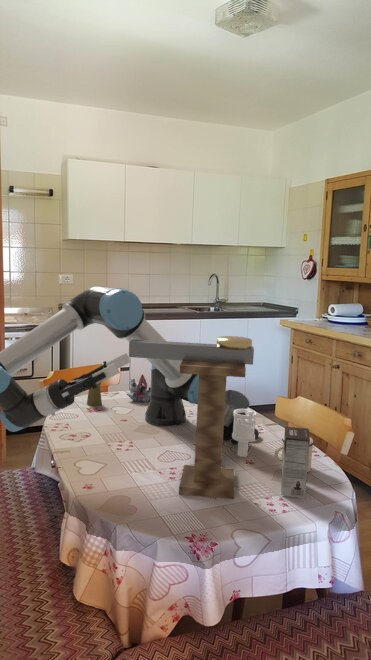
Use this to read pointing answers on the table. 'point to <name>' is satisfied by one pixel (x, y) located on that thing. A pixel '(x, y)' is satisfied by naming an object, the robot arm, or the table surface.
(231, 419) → the milk frother
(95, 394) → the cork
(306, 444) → the coffee box
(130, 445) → the table surface
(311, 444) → the teacup with lid
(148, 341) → the dark grey bar
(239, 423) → the strainer
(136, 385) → the pink and grey figurine
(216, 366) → the walnut stand
